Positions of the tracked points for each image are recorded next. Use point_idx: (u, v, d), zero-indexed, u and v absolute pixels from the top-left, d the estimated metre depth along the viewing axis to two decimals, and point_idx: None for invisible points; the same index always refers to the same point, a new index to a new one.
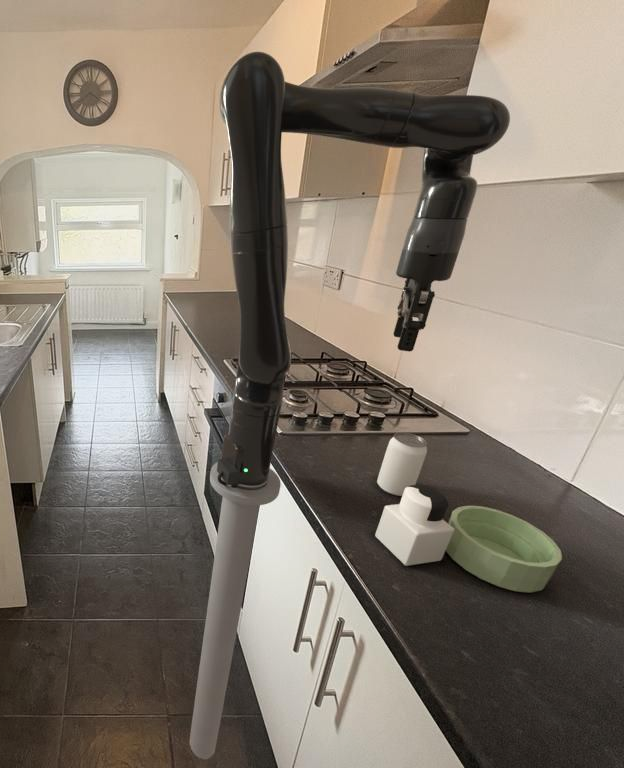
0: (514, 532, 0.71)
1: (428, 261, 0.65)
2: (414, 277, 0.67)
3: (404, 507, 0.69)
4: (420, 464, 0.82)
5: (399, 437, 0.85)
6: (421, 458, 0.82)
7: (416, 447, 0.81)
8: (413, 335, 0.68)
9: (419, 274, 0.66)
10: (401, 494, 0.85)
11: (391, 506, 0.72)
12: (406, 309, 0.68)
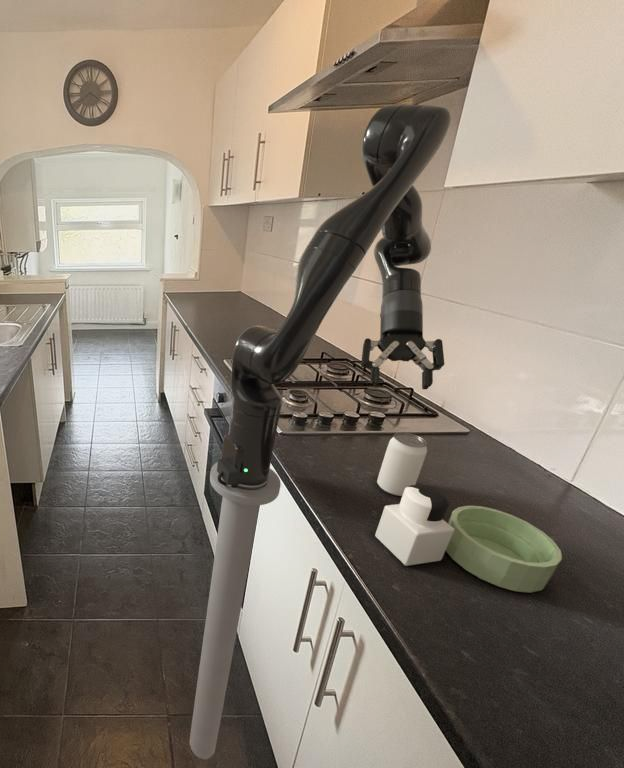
0: (514, 532, 0.71)
1: None
2: (422, 331, 0.86)
3: (404, 507, 0.69)
4: (420, 464, 0.82)
5: (399, 437, 0.85)
6: (421, 458, 0.82)
7: (416, 447, 0.81)
8: None
9: (422, 330, 0.87)
10: (401, 494, 0.85)
11: (391, 506, 0.72)
12: (423, 355, 0.85)
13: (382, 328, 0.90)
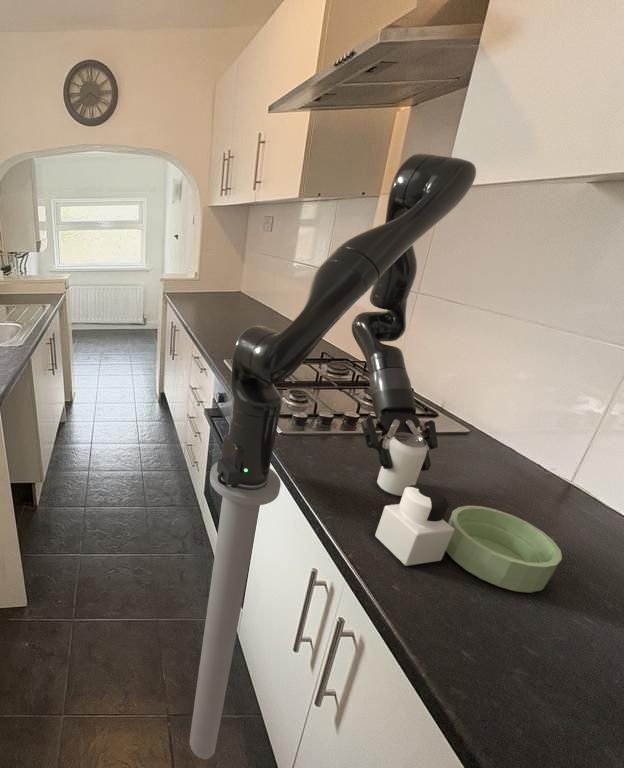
0: (514, 532, 0.71)
1: None
2: None
3: (404, 507, 0.69)
4: (420, 464, 0.82)
5: (399, 437, 0.85)
6: (421, 458, 0.82)
7: (416, 447, 0.81)
8: None
9: None
10: (401, 494, 0.85)
11: (391, 506, 0.72)
12: None
13: (379, 405, 0.88)
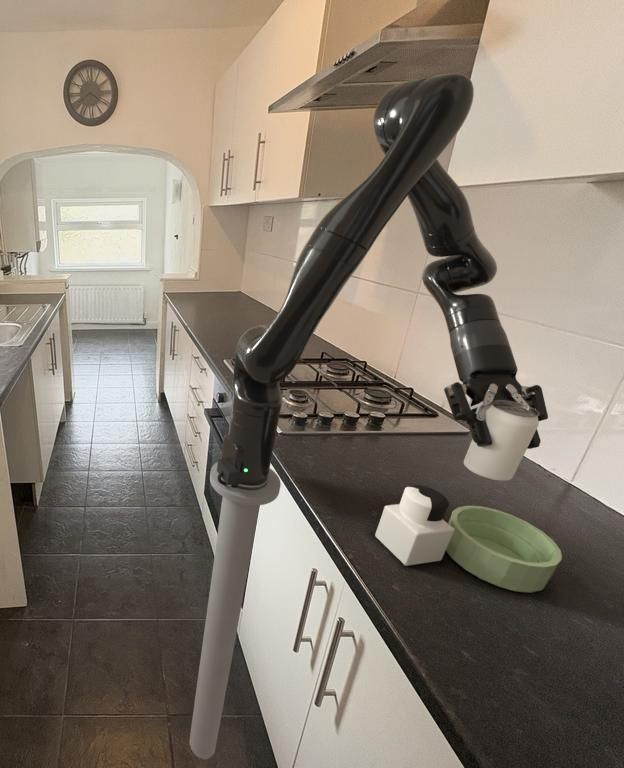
0: (514, 532, 0.71)
1: None
2: (516, 372, 0.69)
3: (404, 507, 0.69)
4: (529, 439, 0.64)
5: (498, 405, 0.66)
6: (532, 431, 0.63)
7: (526, 417, 0.63)
8: None
9: None
10: (500, 478, 0.67)
11: (391, 506, 0.72)
12: None
13: (469, 367, 0.70)
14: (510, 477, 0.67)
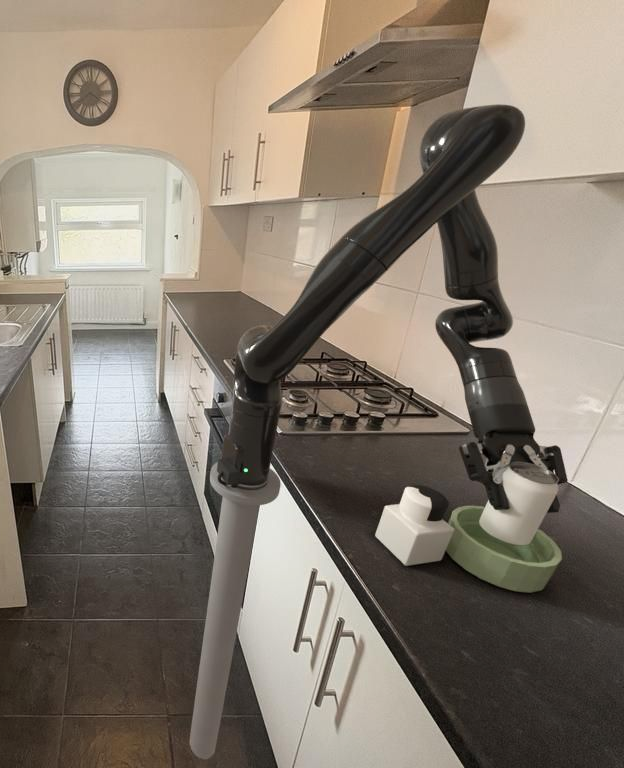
0: None
1: None
2: None
3: (404, 507, 0.69)
4: (549, 506, 0.62)
5: (516, 468, 0.64)
6: (551, 498, 0.61)
7: (545, 484, 0.61)
8: None
9: None
10: (518, 543, 0.65)
11: (391, 506, 0.72)
12: None
13: (485, 425, 0.68)
14: (528, 541, 0.65)
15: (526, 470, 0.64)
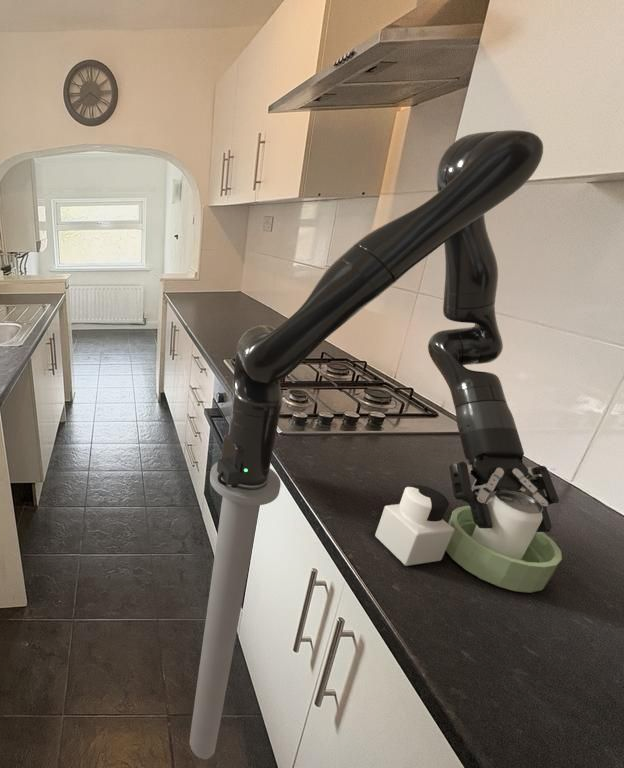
0: None
1: None
2: (522, 455, 0.69)
3: (404, 507, 0.69)
4: (533, 533, 0.64)
5: (502, 496, 0.67)
6: (536, 527, 0.64)
7: (530, 513, 0.63)
8: None
9: None
10: None
11: (391, 506, 0.72)
12: None
13: (475, 448, 0.70)
14: None
15: (512, 498, 0.66)
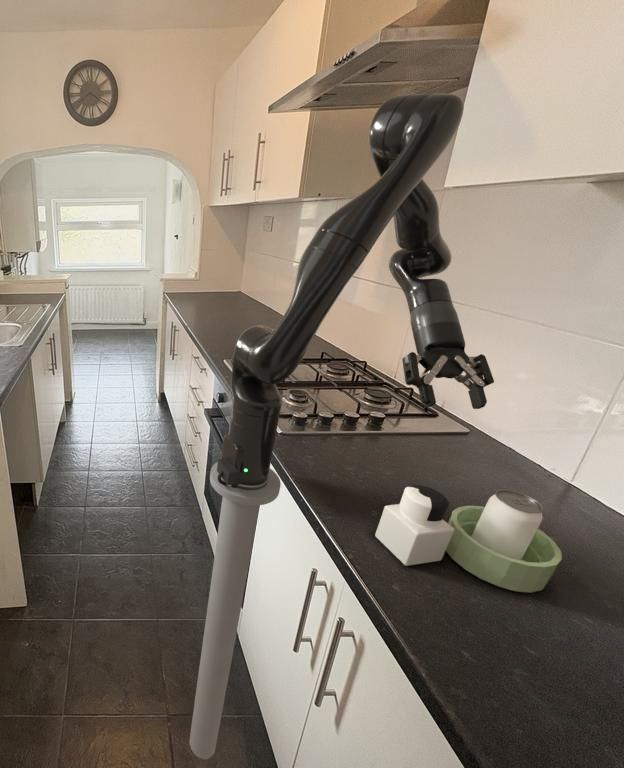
0: None
1: None
2: (464, 346, 0.79)
3: (404, 507, 0.69)
4: (533, 533, 0.64)
5: (502, 496, 0.67)
6: (536, 527, 0.64)
7: (530, 513, 0.63)
8: None
9: None
10: None
11: (391, 506, 0.72)
12: None
13: (424, 341, 0.80)
14: None
15: (512, 498, 0.66)
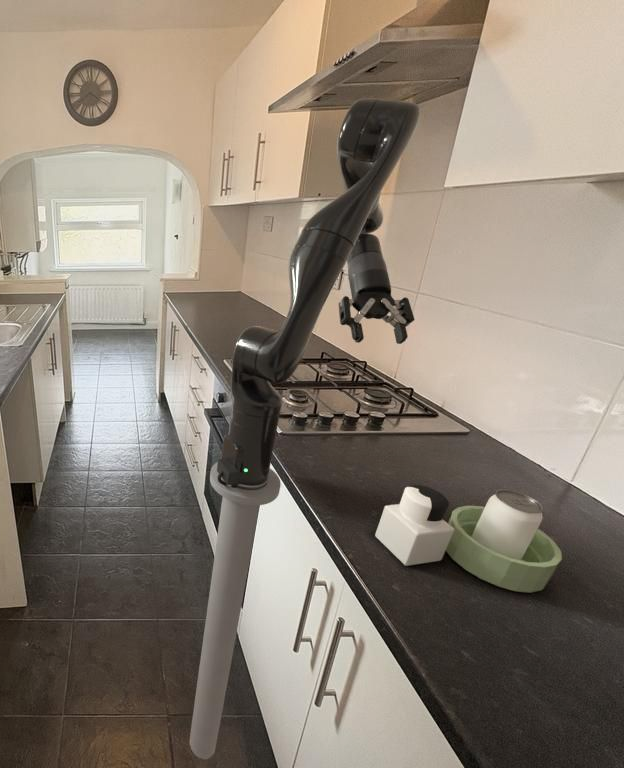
0: None
1: None
2: None
3: (404, 507, 0.69)
4: (533, 533, 0.64)
5: (502, 496, 0.67)
6: (536, 527, 0.64)
7: (530, 513, 0.63)
8: None
9: None
10: None
11: (391, 506, 0.72)
12: None
13: (356, 287, 0.92)
14: None
15: (512, 498, 0.66)
